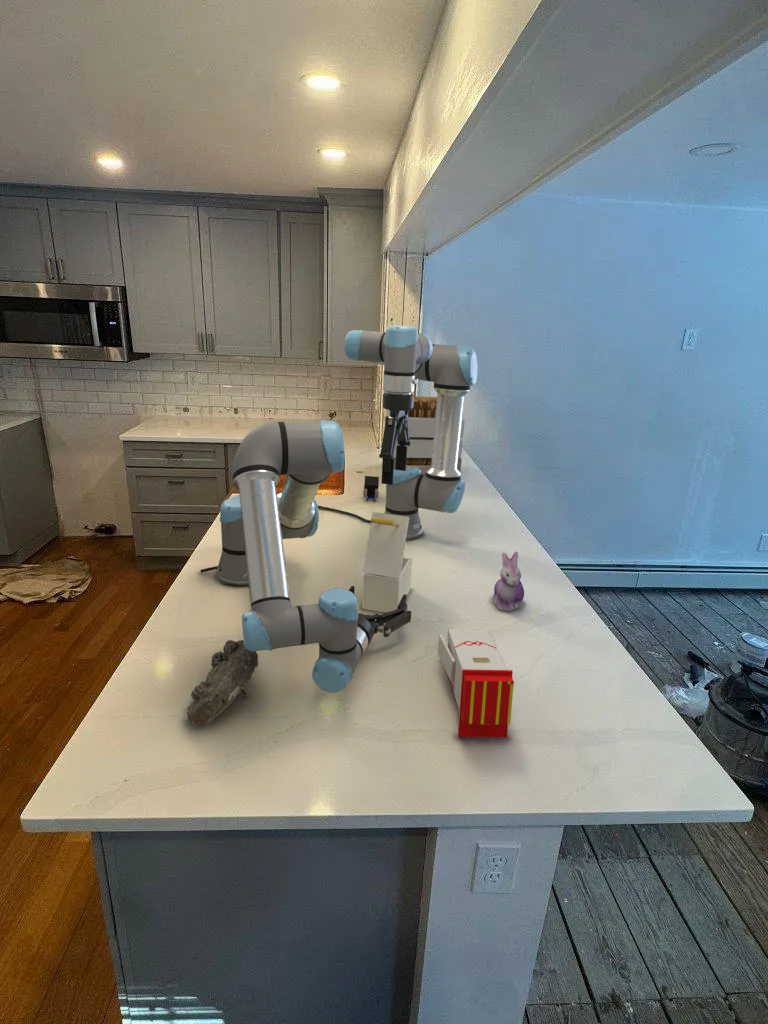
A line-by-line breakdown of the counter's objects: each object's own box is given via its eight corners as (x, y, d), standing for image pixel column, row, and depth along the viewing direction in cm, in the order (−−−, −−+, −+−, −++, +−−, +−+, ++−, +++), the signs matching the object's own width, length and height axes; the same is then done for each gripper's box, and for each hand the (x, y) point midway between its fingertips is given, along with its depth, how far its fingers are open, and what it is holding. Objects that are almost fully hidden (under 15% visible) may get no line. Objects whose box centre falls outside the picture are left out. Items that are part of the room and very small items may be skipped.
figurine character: (379, 506, 231) (378, 490, 244) (379, 489, 227) (379, 474, 241) (362, 505, 230) (363, 490, 244) (363, 488, 227) (363, 474, 240)
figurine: (506, 615, 149) (513, 563, 144) (482, 598, 157) (488, 548, 152) (534, 608, 153) (541, 558, 148) (509, 592, 161) (516, 543, 156)
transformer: (382, 463, 289) (386, 382, 275) (445, 464, 293) (451, 384, 279) (390, 482, 257) (394, 392, 243) (460, 483, 261) (468, 394, 247)
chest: (377, 584, 163) (379, 553, 160) (410, 589, 161) (412, 558, 157) (362, 608, 149) (363, 575, 146) (397, 614, 147) (399, 580, 144)
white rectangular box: (373, 512, 148) (365, 508, 139) (409, 517, 146) (402, 513, 137) (364, 572, 146) (354, 571, 138) (399, 578, 144) (392, 577, 136)
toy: (488, 613, 130) (523, 677, 101) (484, 667, 133) (517, 744, 104) (435, 612, 130) (455, 676, 101) (432, 666, 133) (451, 743, 103)
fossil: (208, 642, 124) (257, 611, 119) (238, 671, 127) (287, 641, 122) (164, 718, 104) (221, 685, 99) (200, 750, 107) (257, 719, 102)
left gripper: (299, 643, 128) (331, 600, 147) (407, 664, 122) (426, 616, 142) (299, 613, 125) (332, 574, 145) (409, 633, 120) (428, 589, 139)
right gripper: (401, 401, 125) (396, 492, 132) (424, 387, 148) (418, 466, 155) (368, 398, 127) (365, 488, 134) (396, 385, 150) (392, 463, 157)
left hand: (378, 594), depth 143 cm, fingers open, 13 cm apart
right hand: (394, 476), depth 145 cm, fingers open, 13 cm apart
